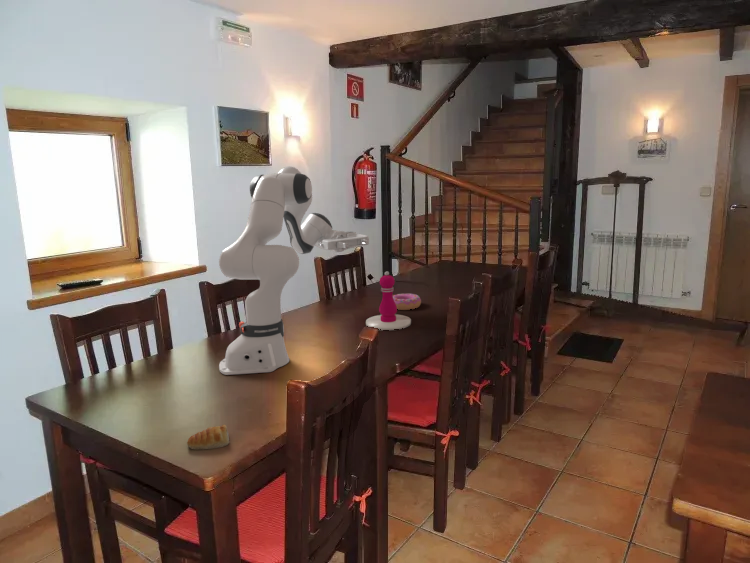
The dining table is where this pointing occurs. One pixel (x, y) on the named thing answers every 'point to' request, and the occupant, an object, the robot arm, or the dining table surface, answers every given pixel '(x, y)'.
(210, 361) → the dining table surface
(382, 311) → the pepper mill
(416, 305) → the donut
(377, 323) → the trivet
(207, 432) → the pastry
